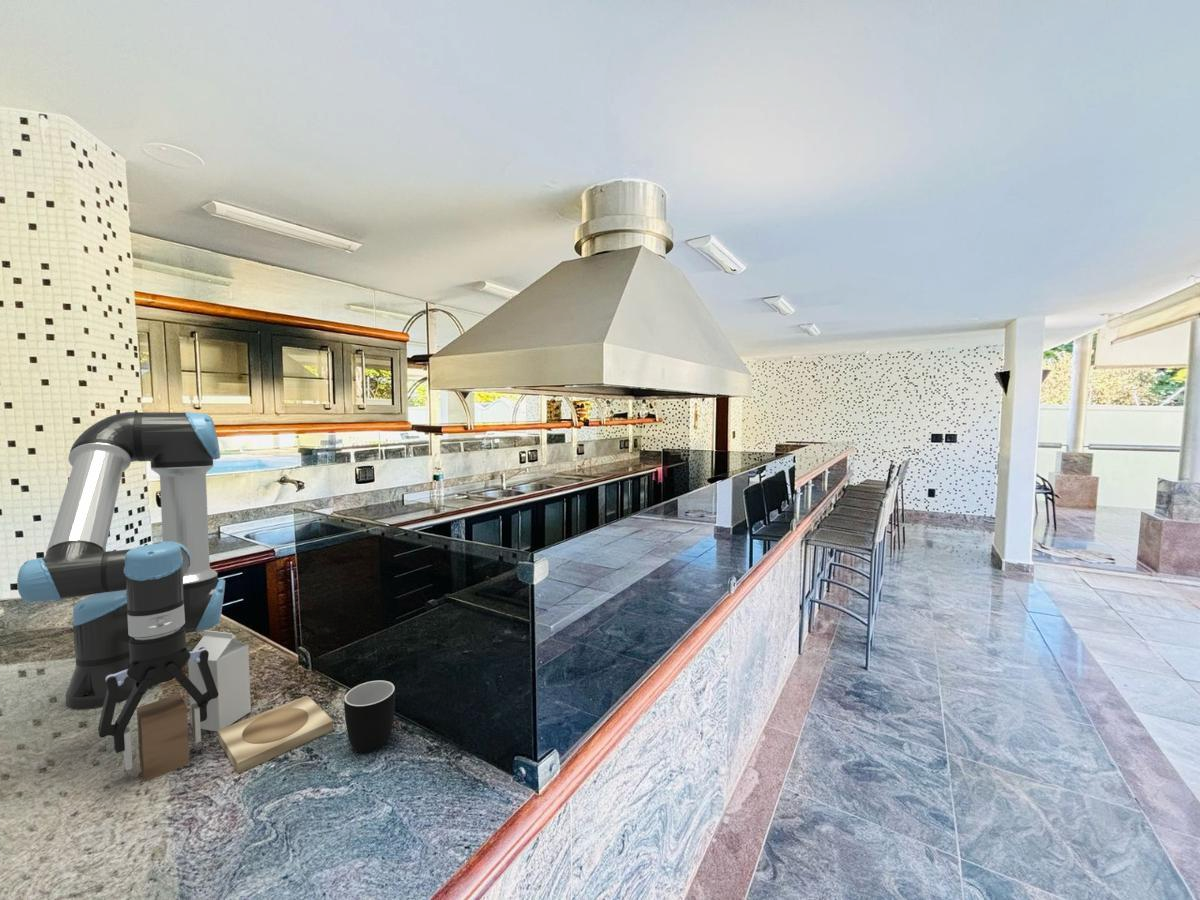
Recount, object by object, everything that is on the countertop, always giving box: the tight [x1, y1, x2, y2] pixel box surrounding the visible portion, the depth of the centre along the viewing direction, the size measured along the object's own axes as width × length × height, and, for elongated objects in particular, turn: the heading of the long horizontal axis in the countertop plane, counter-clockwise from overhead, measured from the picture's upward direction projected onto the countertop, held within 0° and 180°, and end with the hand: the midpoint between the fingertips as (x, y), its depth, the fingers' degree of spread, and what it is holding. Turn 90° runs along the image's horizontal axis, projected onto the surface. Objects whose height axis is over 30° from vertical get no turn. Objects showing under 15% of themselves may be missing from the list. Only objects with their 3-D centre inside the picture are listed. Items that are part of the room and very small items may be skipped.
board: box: [217, 695, 335, 775], centre depth 96 cm, size 14×16×2 cm
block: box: [136, 693, 190, 783], centre depth 88 cm, size 6×6×11 cm
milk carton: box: [187, 629, 252, 733], centre depth 101 cm, size 7×7×19 cm
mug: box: [343, 680, 396, 754], centre depth 95 cm, size 12×9×10 cm
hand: (164, 751), depth 88 cm, fingers open, 9 cm apart
